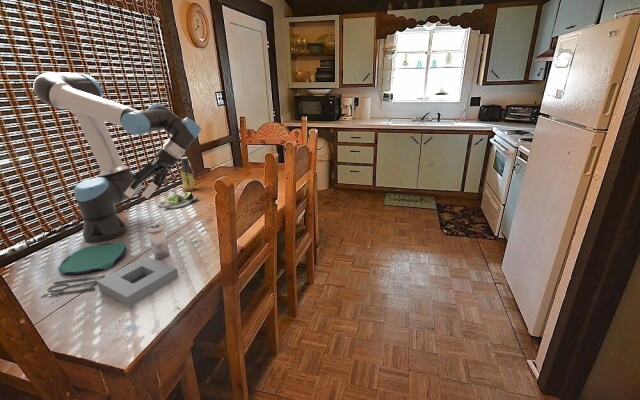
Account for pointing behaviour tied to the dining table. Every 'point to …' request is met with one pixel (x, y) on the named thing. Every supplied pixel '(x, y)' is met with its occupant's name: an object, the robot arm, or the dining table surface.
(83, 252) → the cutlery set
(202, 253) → the dining table surface
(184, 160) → the sauce bottle
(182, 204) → the salad plate
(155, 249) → the bushing
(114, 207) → the robot arm
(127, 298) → the jig
